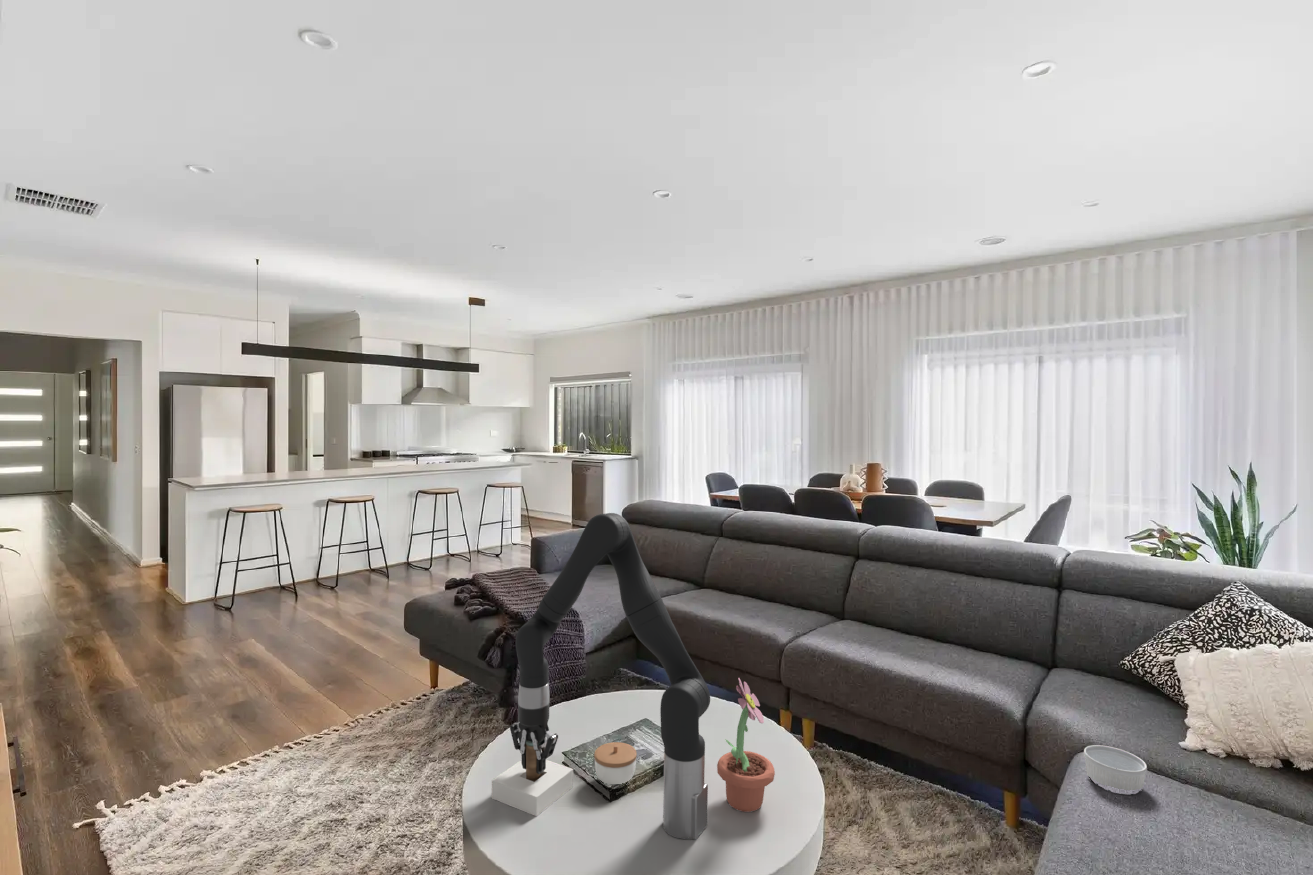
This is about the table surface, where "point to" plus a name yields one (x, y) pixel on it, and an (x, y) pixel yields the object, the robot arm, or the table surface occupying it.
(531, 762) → the walnut dowel
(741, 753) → the decorative flower
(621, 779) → the lidded jar
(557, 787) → the socket block
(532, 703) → the robot arm
